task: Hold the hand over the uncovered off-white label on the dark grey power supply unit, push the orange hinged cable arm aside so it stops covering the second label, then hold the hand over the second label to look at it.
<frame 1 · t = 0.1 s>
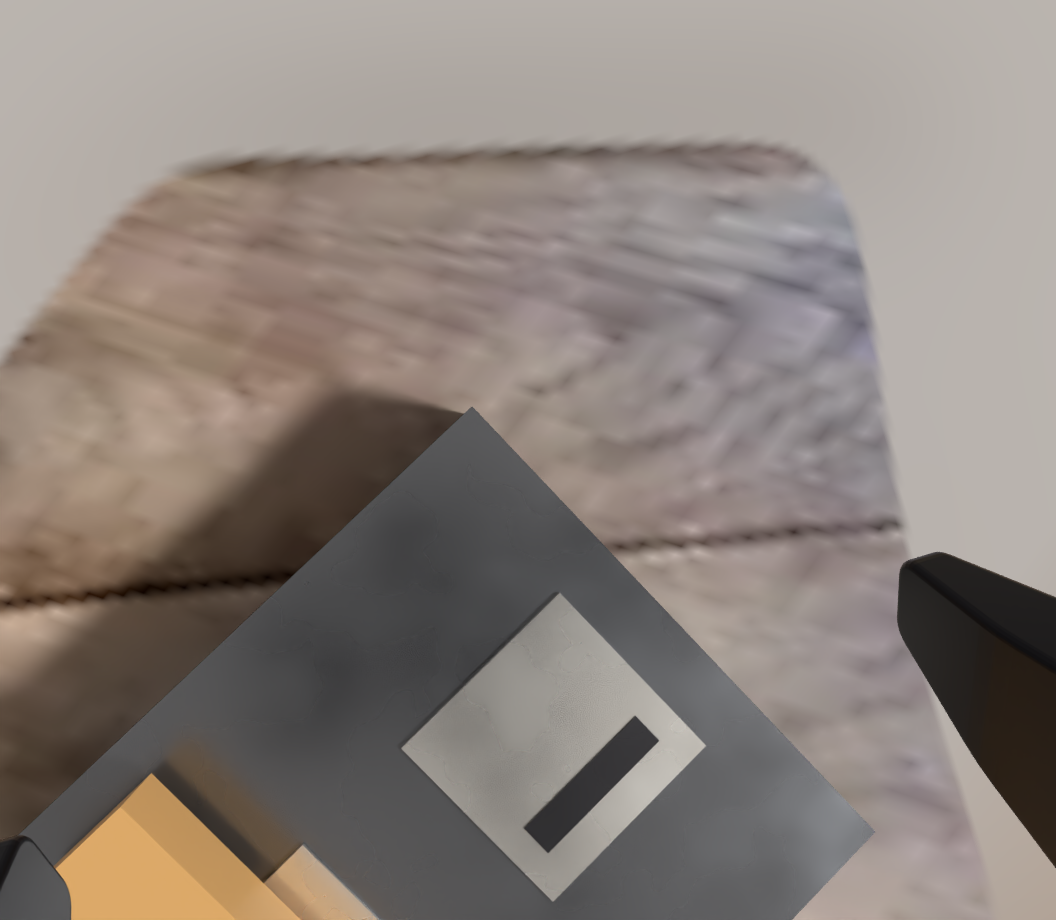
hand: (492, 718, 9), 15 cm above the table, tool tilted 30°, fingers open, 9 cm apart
power supply unit: (429, 821, 24), on the table
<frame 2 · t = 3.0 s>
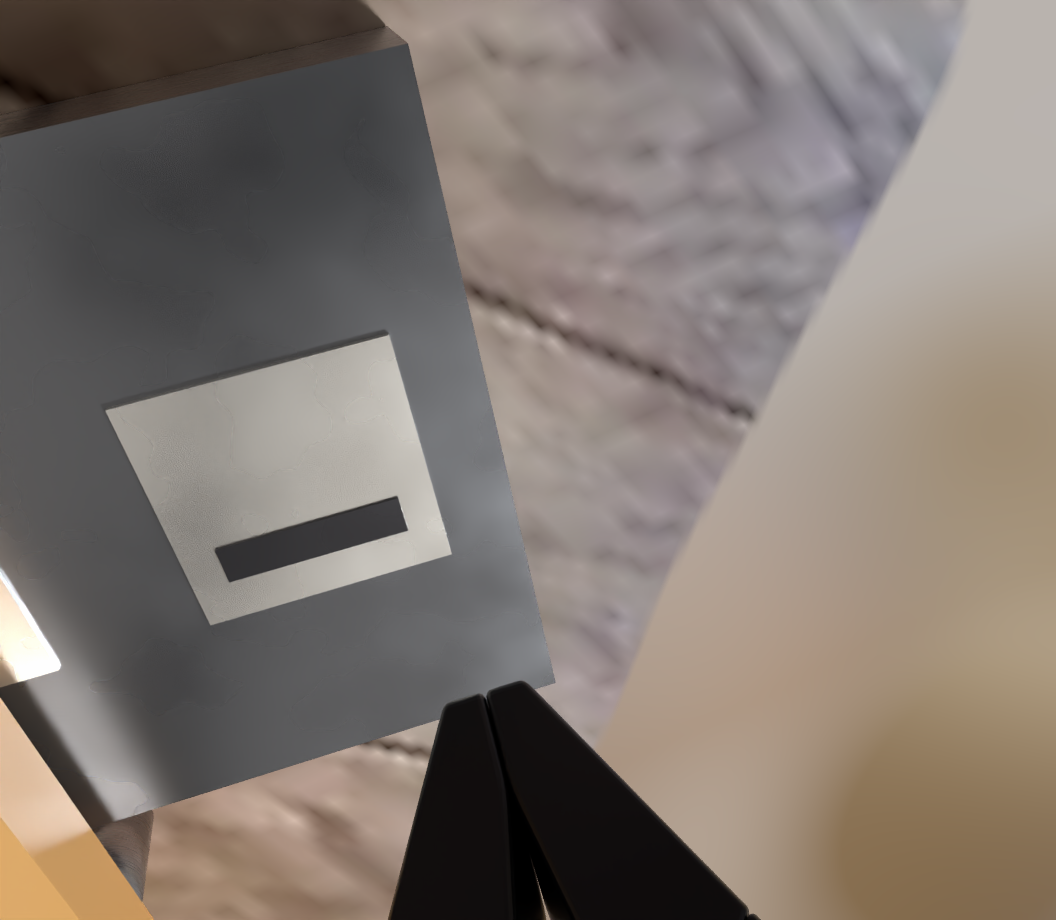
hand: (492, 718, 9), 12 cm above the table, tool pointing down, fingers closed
power supply unit: (106, 466, 20), on the table
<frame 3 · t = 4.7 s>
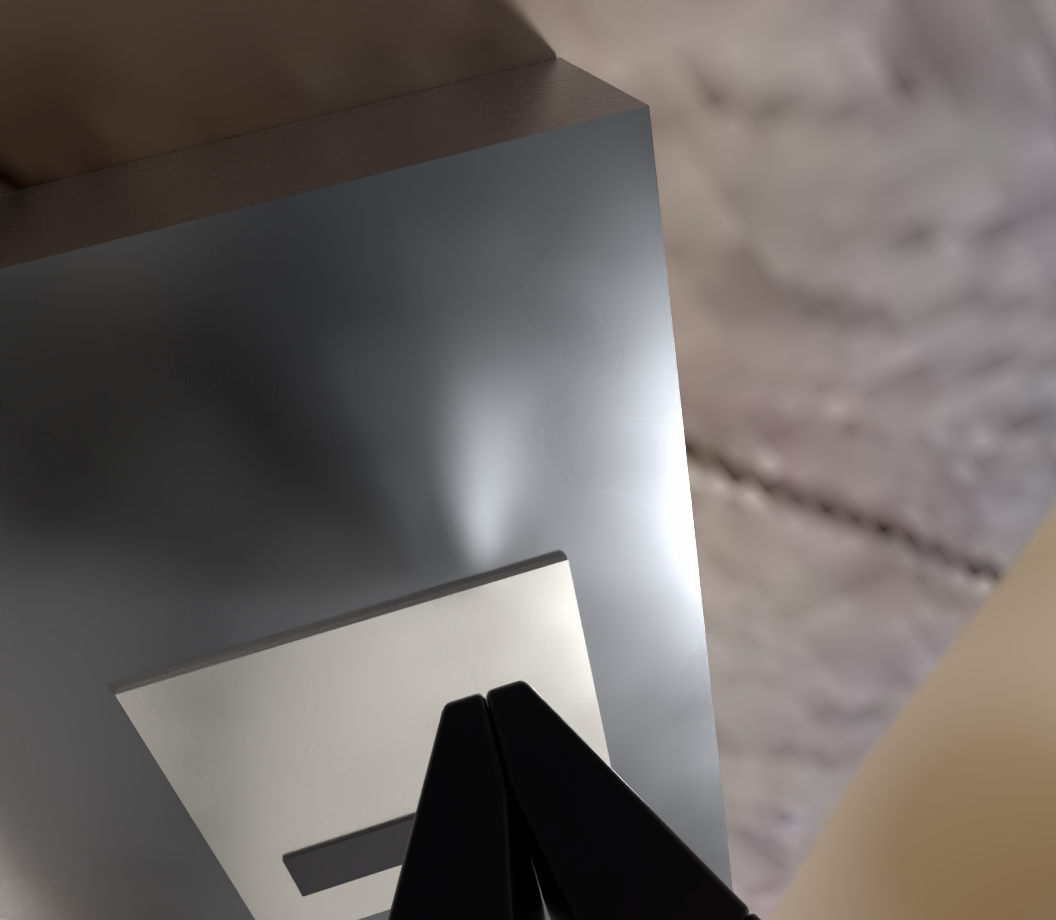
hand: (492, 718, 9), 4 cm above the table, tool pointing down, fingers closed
power supply unit: (116, 690, 13), on the table
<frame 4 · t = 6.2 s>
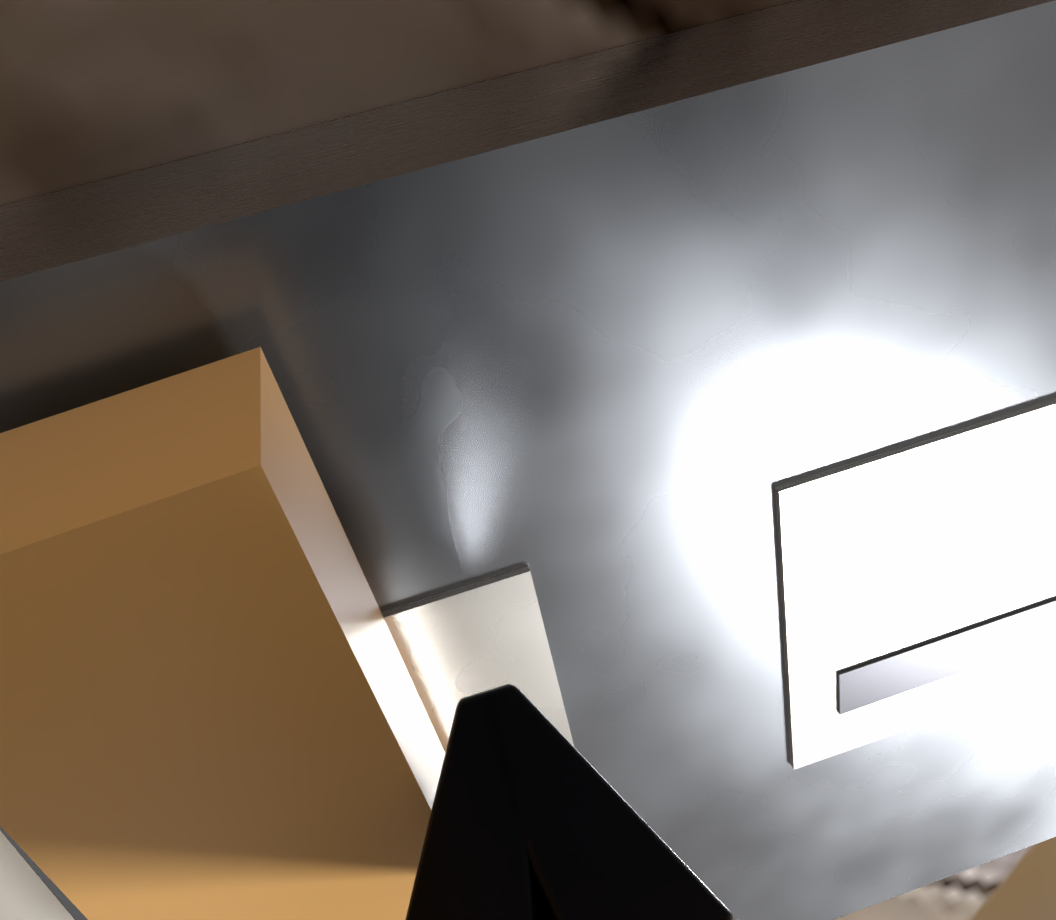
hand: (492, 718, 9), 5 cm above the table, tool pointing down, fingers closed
power supply unit: (603, 544, 14), on the table
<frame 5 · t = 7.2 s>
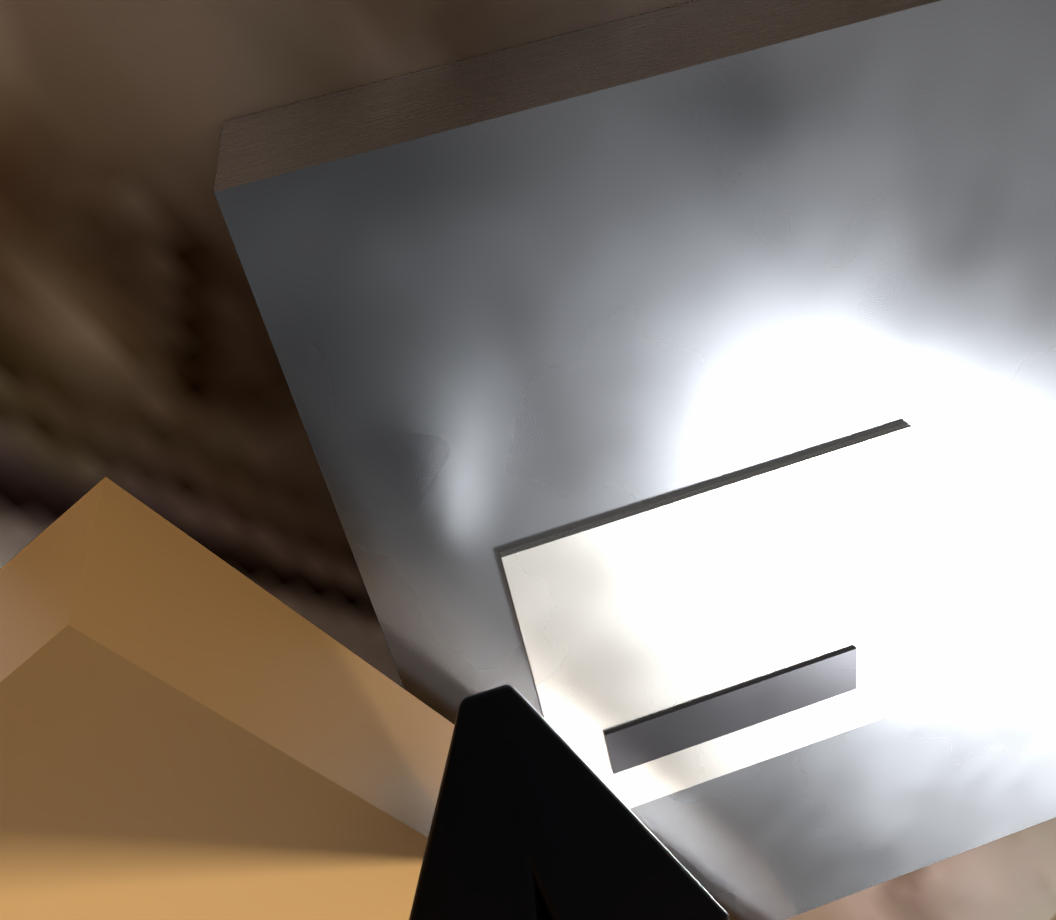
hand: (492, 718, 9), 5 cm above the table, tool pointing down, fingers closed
power supply unit: (875, 439, 15), on the table
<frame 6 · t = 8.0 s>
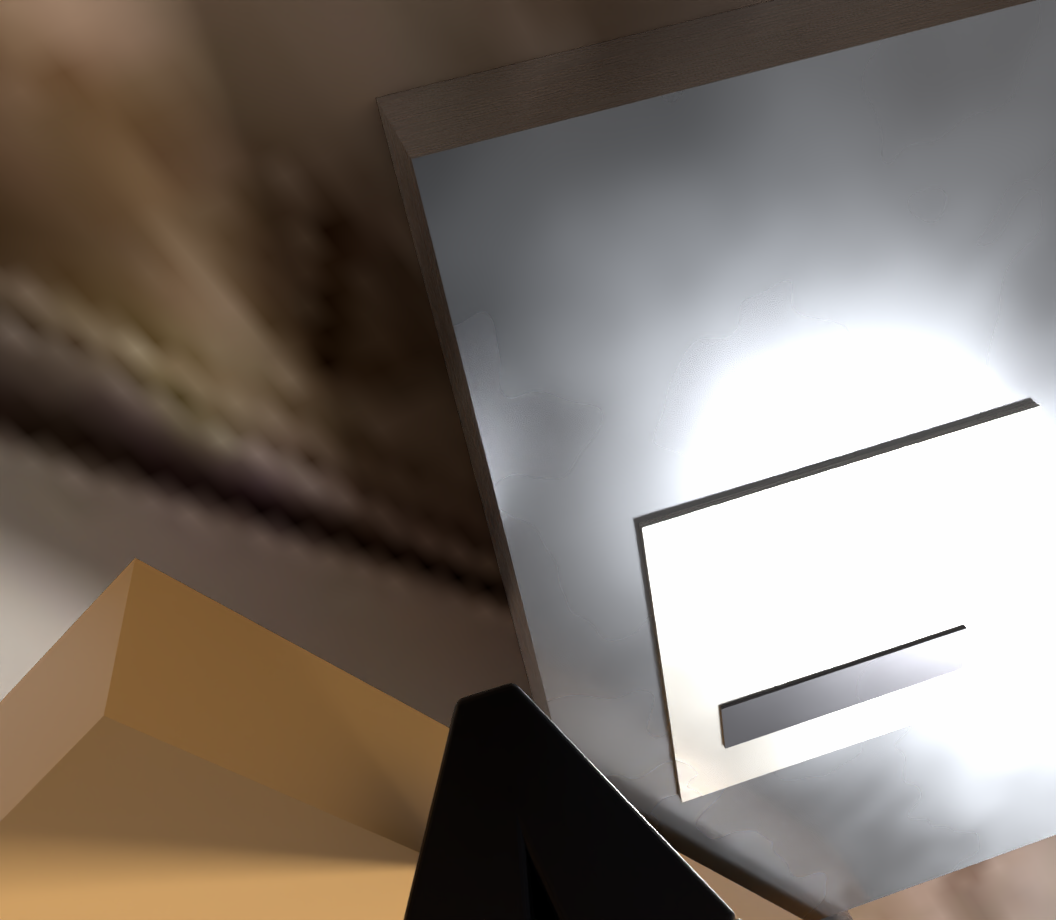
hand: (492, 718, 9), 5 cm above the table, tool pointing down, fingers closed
power supply unit: (970, 425, 15), on the table
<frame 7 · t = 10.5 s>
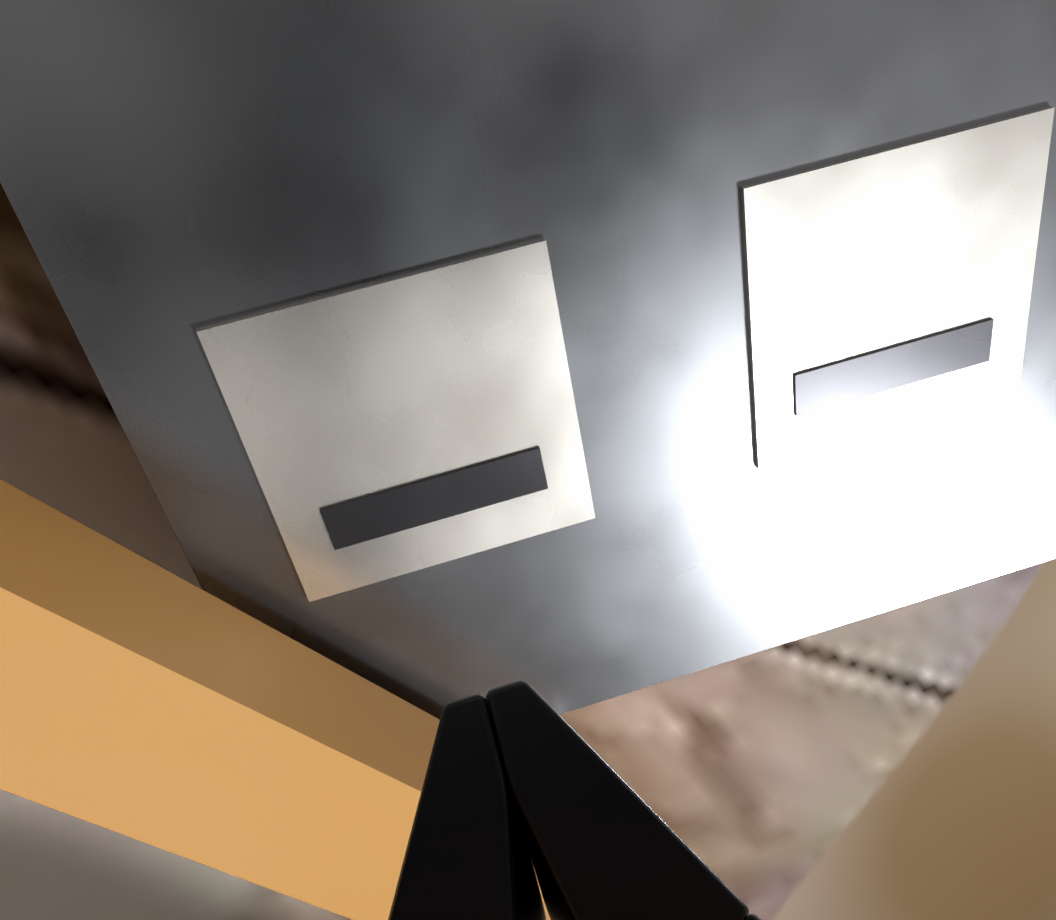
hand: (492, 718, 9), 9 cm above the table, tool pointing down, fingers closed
power supply unit: (605, 297, 17), on the table
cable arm: (247, 748, 15), point 5 cm above the table, hinge at 33.2°
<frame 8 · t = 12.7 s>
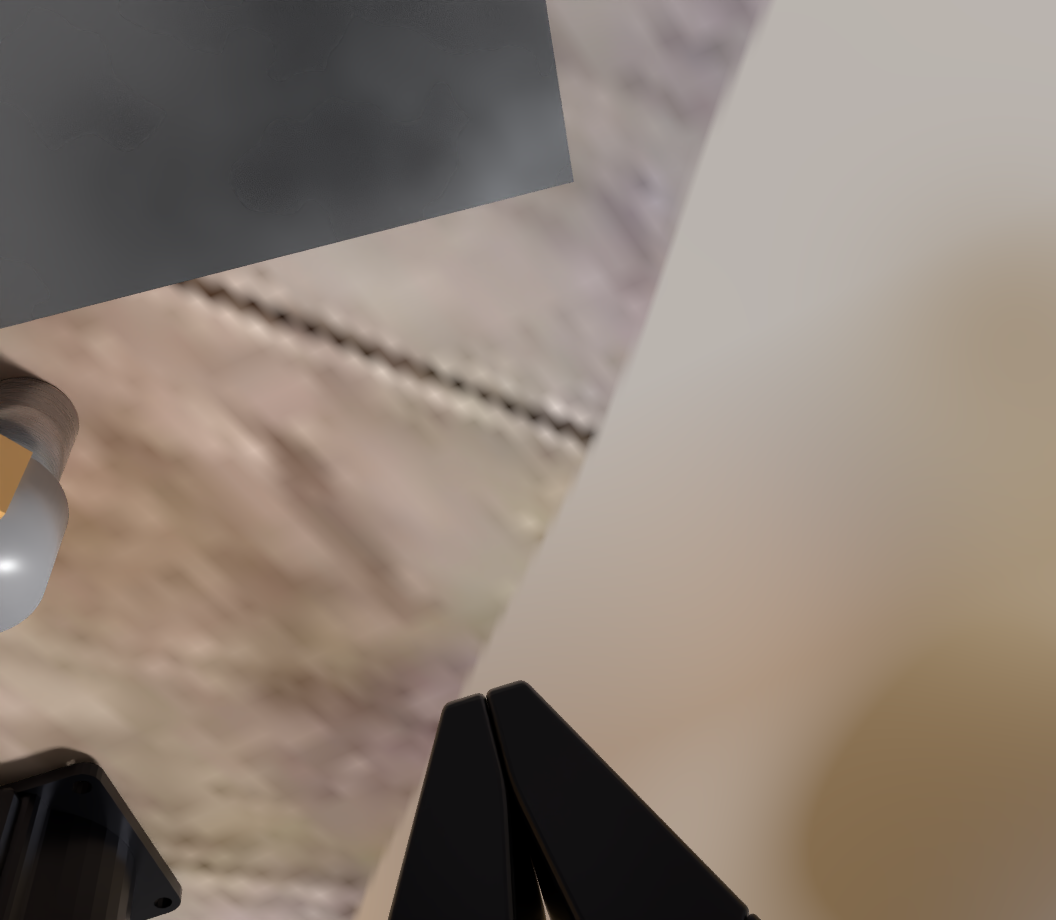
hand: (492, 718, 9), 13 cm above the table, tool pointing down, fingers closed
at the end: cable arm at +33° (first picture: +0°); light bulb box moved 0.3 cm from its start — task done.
